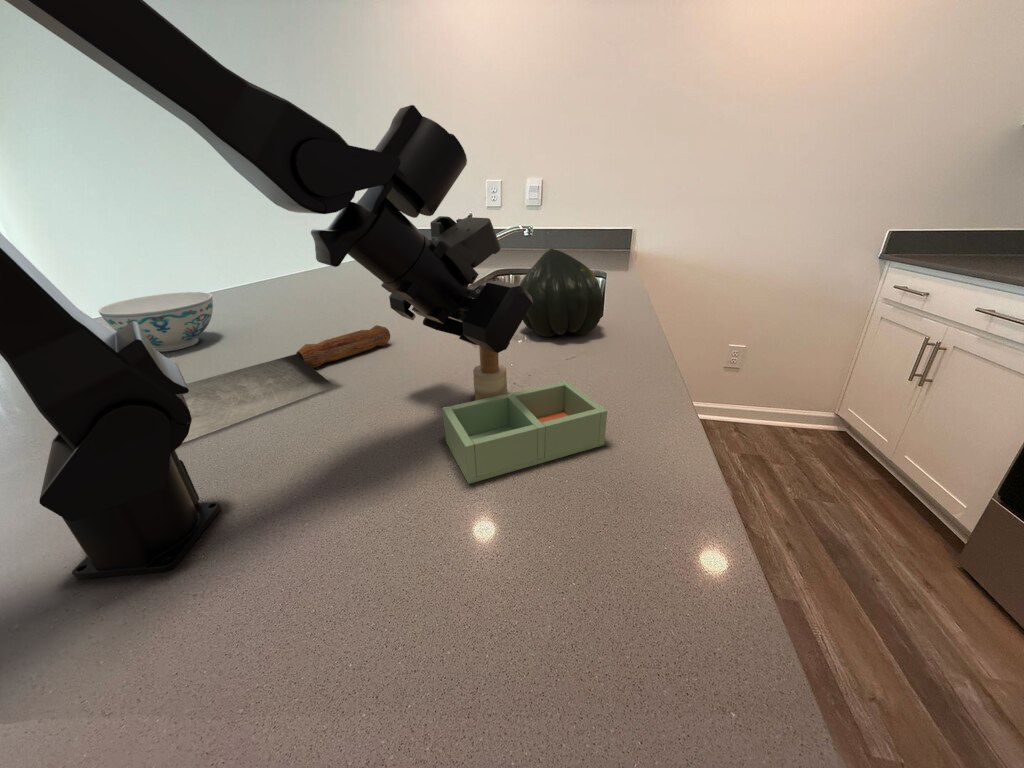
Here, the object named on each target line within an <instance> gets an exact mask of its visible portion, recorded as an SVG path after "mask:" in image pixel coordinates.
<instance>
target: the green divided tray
mask: <svg viewBox="0 0 1024 768" xmlns="http://www.w3.org/2000/svg"><path fill="white" fill-rule="evenodd" d="M442 417H443V427H444V435H445V436H444V437H445V442H446V444H447V446H448V448H449V450H450V452H451V454H452V456H453V457H454V460H455V461H456V463H457V465H458V467H459V469H460V471H461V472H462V475H463V477H464V478H465V480H466V482H467V484H468V485H471V484H475V483H478V482H481V481H484V480H487V479H492V478H494V477H498V476H501V475H505V474H509V473H512V472H515V471H520V470H522V469H526V468H529V467H533V466H537V465H540V464H543V463H547V462H550V461H554V460H557V459H561V458H564V457H567V456H571V455H575V454H578V453H582V452H585V451H588V450H589V451H590V450H591V449H595V448H598V447H602V446H605V441H606V429H607V420H608V419H607V418H608V410H607V409H606V408H604V407H603V406H601V405H600V404H599V403H597V401H595V400H594V399H592V398H591V397H589V396H588V395H587V394H585V393H584V392H583V391H582V390H580V389H579V388H577V387H576V386H575V385H574V384H572V383H570V382H569V381H568V380H567V381H566V380H565V381H562V382H557V383H552V384H546V385H543V386H538V387H533V388H527V389H523V390H519V391H515V392H512V393H511V392H510V393H507V394H506V395H500V396H495V397H491V398H486V399H481V400H476V401H475V400H472V401H468V402H463V403H459V404H453V405H450V406H445V407H442Z"/></svg>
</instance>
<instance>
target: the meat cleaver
mask: <svg viewBox="0 0 1024 768" xmlns="http://www.w3.org/2000/svg"><path fill="white" fill-rule="evenodd" d="M390 340H391V332H390V330H389V328H387V327H386V326H381V325H379V324H377V325H374V326H372V327H371V328H370V329H360V330H357V331H353V332H350V333H346V334H341V335H338V336H335V337H331V338H327V339H325V340H322V341H320V342H318V343H305V344H304V345H303V346H301V347H300V348H299V349H298V350H297V351H296V352H295V353H294V354H291V355H287V356H284V357H280V358H276V359H272V360H268V361H265V362H261V363H258V364H254V365H251V366H247V367H243V368H240V369H236V370H235V369H234V370H231V371H229V372H224V373H220V374H216V375H213V376H210V377H206V378H202V379H199V380H196V381H191V382H188V383H186V385H187V387H188V389H189V392H188V393H186V394H183V396H184V398H185V401H186V403H187V406H188V408H189V411H190V414H191V418H192V421H191V425H190V429H189V433H188V435H187V437H186V438H185V440H184V441H183V443H187V442H189V441H191V440H194V439H197V438H199V437H202V436H205V435H208V434H210V433H213V432H216V431H218V430H221V429H224V428H227V427H229V426H231V425H232V426H233V425H234V424H237V423H239V422H243V421H245V420H248V419H250V418H253V417H256V416H259V415H261V414H264V413H267V412H269V411H272V410H275V409H278V408H280V407H282V406H285V405H288V404H290V403H293V402H296V401H299V400H302V399H304V398H307V397H309V396H312V395H315V394H318V393H320V392H323V391H326V390H328V389H332V388H334V387H335V385H334V384H333V383H331V382H330V381H329V380H328V379H326V377H324V376H323V375H322V374H321V373H320V372H319V371H317V368H318V367H320V366H322V365H323V364H325V363H332V362H336V361H339V360H342V359H345V358H348V357H351V356H355V355H357V354H361V353H364V352H367V351H370V350H372V349H373V348H375V347H385V346H386V345H387V344H388V343H389V341H390ZM183 443H182V444H183Z"/></svg>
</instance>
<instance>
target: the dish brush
mask: <svg viewBox="0 0 1024 768" xmlns="http://www.w3.org/2000/svg"><path fill="white" fill-rule="evenodd" d="M478 348H479V349H478V350H479V365H476V366H475V367H474V368H473V370H472V375H473V390H474V391H473V392H474V401H476V400H481V399H486V398H491V397H495V396H500V395H506V394H508V382H507V381H508V380H507V368H506V366H505V365H503V364H500V361H499V353H496V352H493V351H491V350H488V349H485V348H483V347H480V346H479V345H478Z"/></svg>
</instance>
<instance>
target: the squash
mask: <svg viewBox="0 0 1024 768" xmlns="http://www.w3.org/2000/svg"><path fill="white" fill-rule="evenodd" d="M519 285H522V286H523V288H524V289H525V290H526V291H527V292H528V293H529V295H530V296H531V297H532V301H533V304H532V306H531V307H530V309H529V311H528V312H527V314H526V316H525V317H524V319H523V321H522V322H523V324H524V325H525V326H526V327H527V329H529V330H530V331H532V332H534V333H536V334H538V335H539V336H542V337H546V338H547V337H548V338H549V337H554V336H555V335H556V334H557V335H564V334H565V333H566V332H570V333H572V334H574V335H578V336H579V335H585V334H588V333H590V332H592V331H593V330H594V329H595V328H596V327H597V326H598V324H599V322H600V320H601V319H602V313H603V310H604V299H603V292H602V290H601V286H600V283H599V281H598V278H597V277H596V275H595V274H594V273H593V271H592V270H591V268H589V267H588V266H587V265H586V264H584V263H582V262H581V261H579V260H577V259H576V258H575V257H573V256H572V255H569V254H568V253H565V252H564V251H562V250H559V249H554V248H549V249H548V250H547V251H546V252H544V253H543V254H542V255H541V256H540V257H539V259H538V260H537V261H536V262H535V263H534V265H533V266H532V267H531V268H530V269H529V270H528V271H527V273H526V274H525V275H524V277H523V278H522V280H521V282H520V284H519Z"/></svg>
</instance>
